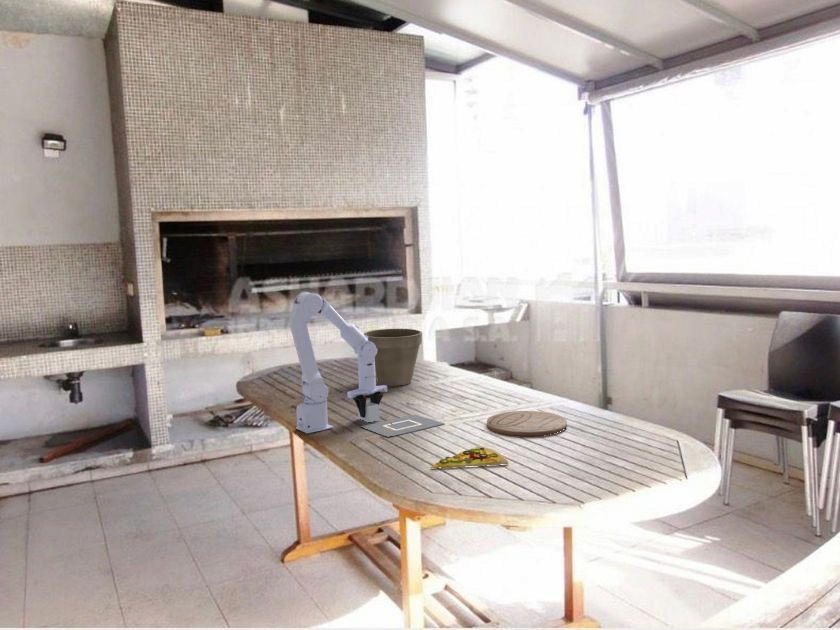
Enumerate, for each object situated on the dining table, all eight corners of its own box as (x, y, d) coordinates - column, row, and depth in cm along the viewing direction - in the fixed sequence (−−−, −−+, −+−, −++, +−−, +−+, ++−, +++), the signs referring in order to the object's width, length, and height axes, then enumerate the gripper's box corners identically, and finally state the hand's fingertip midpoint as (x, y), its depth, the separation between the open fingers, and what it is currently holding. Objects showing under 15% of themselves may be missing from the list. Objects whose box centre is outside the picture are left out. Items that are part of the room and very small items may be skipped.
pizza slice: (513, 467, 176) (513, 456, 176) (443, 481, 167) (443, 469, 167) (483, 451, 190) (483, 440, 190) (417, 463, 181) (417, 452, 181)
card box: (369, 423, 221) (368, 406, 221) (358, 419, 227) (357, 402, 226) (379, 420, 224) (378, 404, 223) (368, 416, 229) (367, 400, 229)
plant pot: (421, 388, 270) (419, 335, 268) (360, 390, 272) (358, 337, 269) (425, 376, 295) (423, 327, 293) (369, 377, 297) (367, 329, 294)
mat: (388, 437, 204) (388, 436, 204) (360, 427, 216) (360, 426, 216) (444, 424, 217) (444, 423, 217) (415, 415, 229) (415, 414, 229)
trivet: (577, 421, 217) (577, 415, 216) (551, 442, 195) (551, 436, 195) (505, 413, 229) (505, 408, 229) (473, 432, 208) (473, 426, 208)
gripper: (354, 380, 216) (356, 422, 218) (391, 374, 225) (393, 414, 226) (343, 377, 222) (345, 417, 223) (380, 371, 230) (381, 410, 232)
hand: (368, 415), depth 225 cm, fingers closed on card box, 4 cm apart
